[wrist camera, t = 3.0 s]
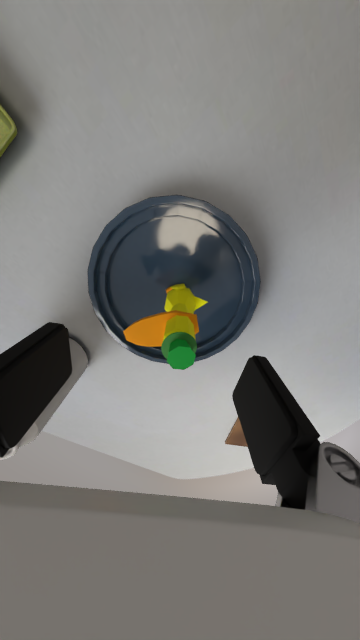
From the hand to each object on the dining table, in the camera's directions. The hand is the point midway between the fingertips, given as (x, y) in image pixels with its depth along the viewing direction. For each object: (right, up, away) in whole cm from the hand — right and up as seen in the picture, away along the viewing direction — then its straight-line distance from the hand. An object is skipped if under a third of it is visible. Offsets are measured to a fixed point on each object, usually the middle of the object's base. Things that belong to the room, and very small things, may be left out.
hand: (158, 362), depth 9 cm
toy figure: (0, +5, +11) cm, 12 cm away
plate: (0, +6, +12) cm, 13 cm away
